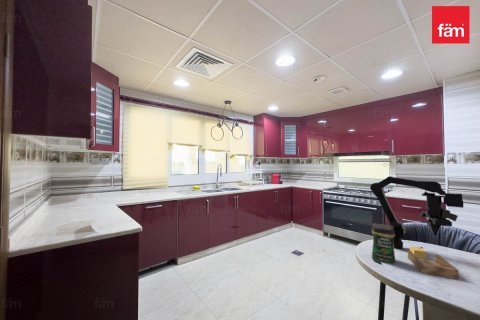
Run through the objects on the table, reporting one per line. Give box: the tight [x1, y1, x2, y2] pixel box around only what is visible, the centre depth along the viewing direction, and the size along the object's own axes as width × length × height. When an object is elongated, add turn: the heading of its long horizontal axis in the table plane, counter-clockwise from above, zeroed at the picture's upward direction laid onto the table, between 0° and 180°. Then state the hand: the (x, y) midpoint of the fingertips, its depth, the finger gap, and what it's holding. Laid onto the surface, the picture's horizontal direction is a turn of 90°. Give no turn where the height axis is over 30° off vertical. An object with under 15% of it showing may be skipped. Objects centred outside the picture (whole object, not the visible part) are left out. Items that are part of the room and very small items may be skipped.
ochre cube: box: [409, 246, 428, 260], centre depth 104 cm, size 5×5×5 cm
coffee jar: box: [371, 222, 396, 265], centre depth 101 cm, size 10×8×19 cm
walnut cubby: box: [407, 250, 460, 280], centre depth 93 cm, size 12×16×5 cm
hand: (435, 235), depth 105 cm, fingers closed
